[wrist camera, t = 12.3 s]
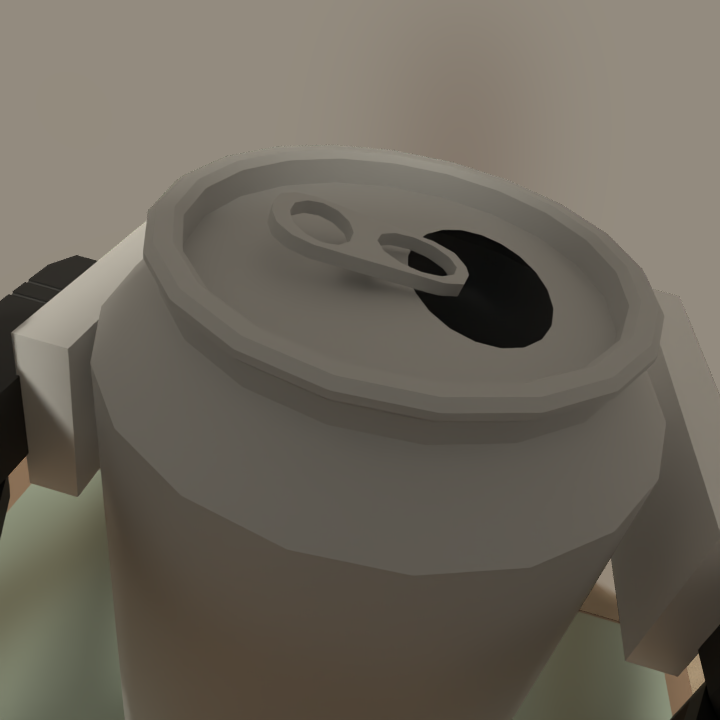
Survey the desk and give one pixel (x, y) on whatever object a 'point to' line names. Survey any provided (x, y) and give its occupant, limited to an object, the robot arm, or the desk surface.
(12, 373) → the robot arm
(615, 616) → the desk surface
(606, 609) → the desk surface
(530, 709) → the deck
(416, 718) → the can
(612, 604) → the desk surface
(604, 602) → the desk surface
